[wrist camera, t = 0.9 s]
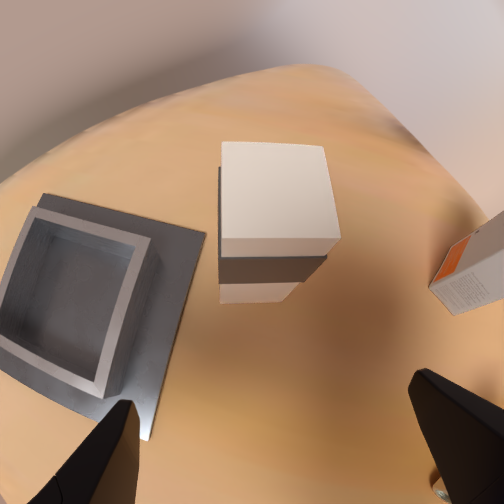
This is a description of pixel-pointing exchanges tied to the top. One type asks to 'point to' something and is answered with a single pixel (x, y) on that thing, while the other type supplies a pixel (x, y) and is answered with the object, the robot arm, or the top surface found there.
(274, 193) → the plug
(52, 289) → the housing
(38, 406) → the top surface
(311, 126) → the top surface
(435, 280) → the skincare box
